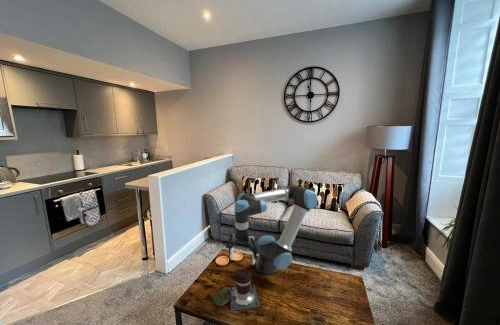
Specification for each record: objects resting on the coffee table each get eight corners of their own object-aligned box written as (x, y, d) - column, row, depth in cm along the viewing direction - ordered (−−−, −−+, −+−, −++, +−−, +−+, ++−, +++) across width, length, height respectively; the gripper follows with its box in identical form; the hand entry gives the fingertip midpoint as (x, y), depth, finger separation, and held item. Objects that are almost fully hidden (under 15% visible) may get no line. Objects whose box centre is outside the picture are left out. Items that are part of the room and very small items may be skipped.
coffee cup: (249, 287, 132) (249, 266, 129) (253, 300, 122) (253, 277, 120) (233, 290, 130) (233, 268, 127) (236, 303, 120) (236, 280, 117)
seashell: (209, 302, 121) (216, 283, 125) (213, 301, 127) (220, 283, 132) (225, 309, 118) (232, 289, 122) (229, 308, 124) (235, 289, 129)
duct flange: (254, 285, 135) (254, 283, 135) (259, 306, 120) (259, 304, 120) (229, 289, 133) (229, 286, 132) (231, 311, 117) (231, 308, 117)
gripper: (219, 227, 120) (220, 260, 124) (261, 233, 112) (261, 269, 116) (224, 221, 127) (226, 253, 131) (264, 227, 119) (265, 261, 123)
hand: (242, 260), depth 124 cm, fingers open, 13 cm apart
